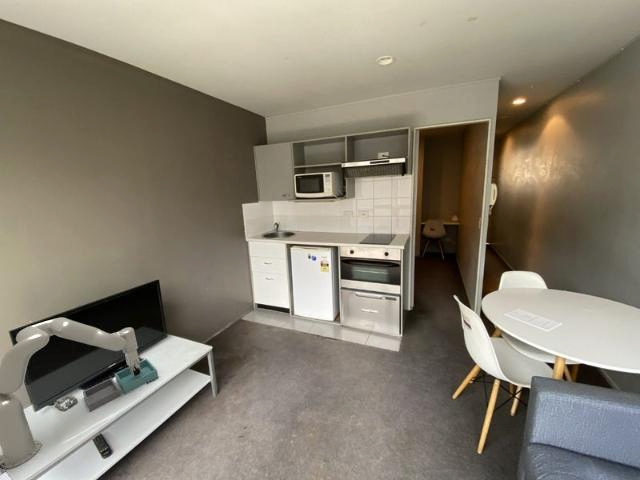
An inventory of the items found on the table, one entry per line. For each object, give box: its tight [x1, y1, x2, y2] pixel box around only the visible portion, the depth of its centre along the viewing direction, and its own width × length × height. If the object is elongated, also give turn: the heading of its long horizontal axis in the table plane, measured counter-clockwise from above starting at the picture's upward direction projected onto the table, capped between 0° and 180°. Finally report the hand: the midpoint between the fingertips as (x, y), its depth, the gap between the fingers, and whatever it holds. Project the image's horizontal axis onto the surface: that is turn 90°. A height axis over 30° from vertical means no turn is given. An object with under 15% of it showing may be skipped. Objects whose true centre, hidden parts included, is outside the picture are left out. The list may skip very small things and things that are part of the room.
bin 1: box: [82, 377, 121, 412], centre depth 159 cm, size 14×16×5 cm
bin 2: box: [114, 358, 159, 395], centre depth 172 cm, size 18×18×6 cm
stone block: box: [130, 364, 142, 377], centre depth 171 cm, size 4×4×6 cm
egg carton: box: [53, 394, 78, 412], centre depth 154 cm, size 11×8×4 cm
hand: (136, 372), depth 171 cm, fingers closed on stone block, 4 cm apart
